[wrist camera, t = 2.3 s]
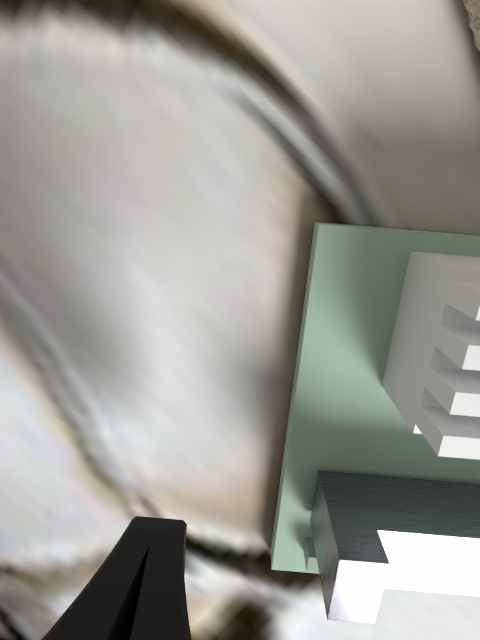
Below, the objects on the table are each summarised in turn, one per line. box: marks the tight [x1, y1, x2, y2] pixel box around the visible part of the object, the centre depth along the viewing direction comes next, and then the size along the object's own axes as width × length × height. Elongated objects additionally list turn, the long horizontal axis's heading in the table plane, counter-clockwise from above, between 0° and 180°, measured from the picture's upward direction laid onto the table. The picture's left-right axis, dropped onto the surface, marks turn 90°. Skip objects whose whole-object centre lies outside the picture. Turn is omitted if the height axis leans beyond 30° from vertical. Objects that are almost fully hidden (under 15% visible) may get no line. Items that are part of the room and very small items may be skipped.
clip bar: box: [310, 470, 480, 624], centre depth 11 cm, size 9×2×3 cm, turn 86°
